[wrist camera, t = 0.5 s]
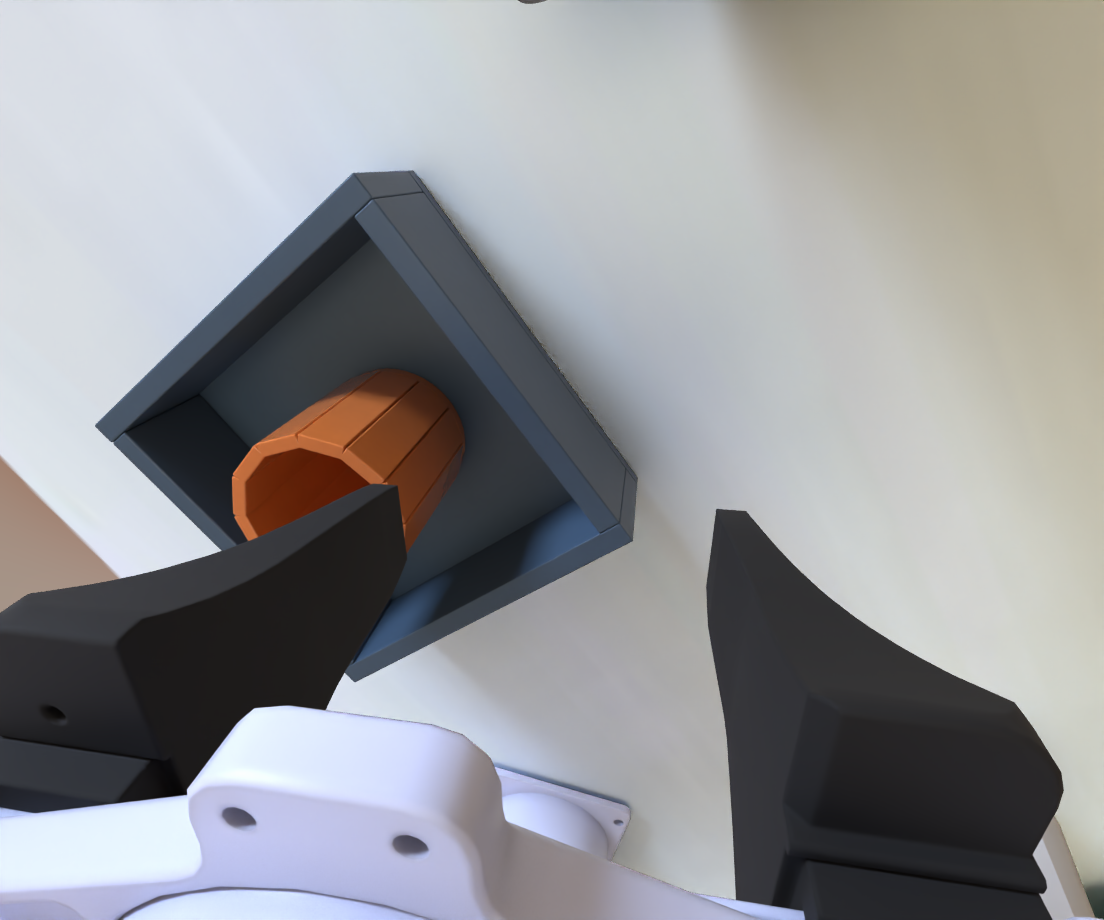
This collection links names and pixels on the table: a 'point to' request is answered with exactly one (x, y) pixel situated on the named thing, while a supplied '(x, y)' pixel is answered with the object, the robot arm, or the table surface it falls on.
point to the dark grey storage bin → (405, 344)
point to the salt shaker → (1060, 876)
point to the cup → (354, 453)
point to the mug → (531, 1)
